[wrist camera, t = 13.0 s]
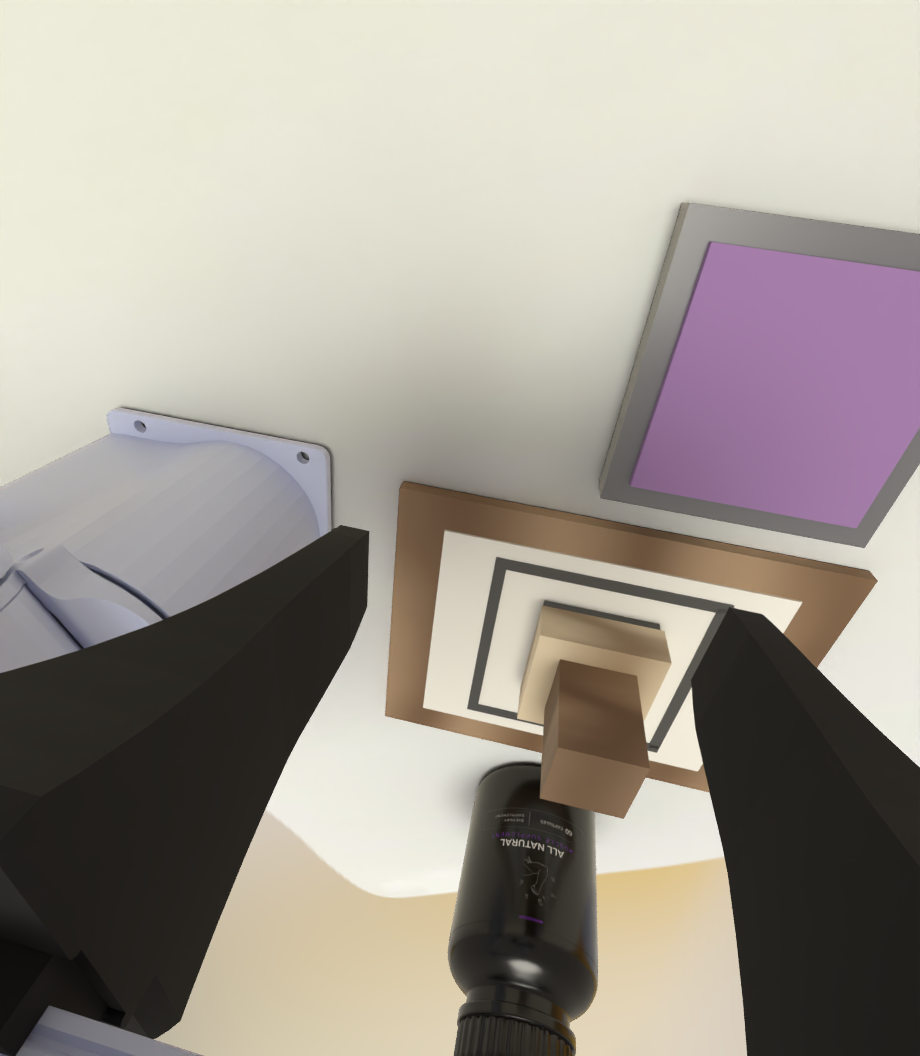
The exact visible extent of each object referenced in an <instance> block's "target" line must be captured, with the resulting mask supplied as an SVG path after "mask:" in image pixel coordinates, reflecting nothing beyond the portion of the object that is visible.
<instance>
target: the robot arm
mask: <svg viewBox="0 0 920 1056" xmlns="http://www.w3.org/2000/svg"><path fill="white" fill-rule="evenodd" d="M107 421H108V425H109V428H110V432H111V434H109V435H107V436H105V437H103V438H101V439H99V440H97V441H94V442H92V443H90V444H88V445H86V446H84V447H82V448H80V449H78V450H76V451H74V452H72V453H70V454H68V455H66V456H64V457H62V458H59V459H57V460H55V461H53V462H51V463H49V464H47V465H45V466H43V467H41V468H39V469H37V470H35V471H33V472H31V473H29V474H27V475H24V476H22V477H20V478H18V479H16V480H14V481H12V482H10V483H8V484H6V485H4V486H2V487H0V1056H202V1055H199V1054H196V1053H193V1052H190V1051H187V1050H184V1049H181V1048H178V1047H175V1046H172V1045H169V1044H166V1043H162V1042H159V1041H156V1040H153V1039H155V1038H157V1037H159V1036H160V1035H162V1034H164V1033H165V1032H167V1031H168V1030H170V1029H171V1028H172V1027H173V1026H175V1025H176V1024H177V1023H178V1022H180V1020H181V1018H182V1015H183V1013H184V1010H185V1007H186V1004H187V1002H188V999H189V996H190V994H191V991H192V988H193V985H194V983H195V981H196V978H197V975H198V973H199V970H200V968H201V965H202V962H203V960H204V957H205V955H206V952H207V949H208V947H209V944H210V942H211V939H212V936H213V933H214V931H215V929H216V926H217V924H218V921H219V919H220V916H221V914H222V911H223V909H224V906H225V904H226V901H227V899H228V896H229V894H230V892H231V889H232V887H233V884H234V882H235V879H236V877H237V874H238V872H239V869H240V867H241V865H242V862H243V859H244V857H245V855H246V853H247V850H248V848H249V845H250V843H251V841H252V839H253V836H254V834H255V832H256V829H257V827H258V825H259V822H260V820H261V818H262V815H263V813H264V811H265V808H266V806H267V804H268V802H269V800H270V797H271V795H272V793H273V791H274V788H275V786H276V784H277V782H278V779H279V777H280V775H281V773H282V771H283V768H284V766H285V764H286V762H287V760H288V758H289V756H290V754H291V752H292V750H293V748H294V746H295V744H296V742H297V740H298V738H299V737H300V735H301V733H302V731H303V730H304V728H305V726H306V724H307V723H308V721H309V719H310V717H311V716H312V714H313V712H314V711H315V709H316V707H317V705H318V704H319V702H320V700H321V698H322V697H323V695H324V693H325V691H326V690H327V688H328V686H329V684H330V683H331V681H332V679H333V677H334V676H335V674H336V672H337V670H338V669H339V667H340V665H341V663H342V661H343V660H344V658H345V656H346V654H347V653H348V651H349V649H350V647H351V645H352V642H353V640H354V638H355V635H356V633H357V630H358V628H359V626H360V623H361V621H362V618H363V615H364V613H365V610H366V608H367V591H368V553H369V531H366V530H361V529H357V528H352V527H347V526H342V525H340V526H339V527H337V528H335V529H333V530H332V529H331V471H330V455H329V453H328V452H327V450H326V449H325V448H323V447H321V446H319V445H314V444H309V443H304V442H298V441H293V440H288V439H283V438H277V437H272V436H267V435H262V434H256V433H251V432H246V431H240V430H235V429H230V428H225V427H219V426H214V425H209V424H204V423H198V422H193V421H188V420H182V419H177V418H172V417H167V416H161V415H156V414H151V413H146V412H140V411H135V410H130V409H124V408H115V409H113V410H111V411H109V412H108V414H107ZM141 422H143V423H144V424H145V426H146V428H144V427H143V426H142V424H141ZM301 452H304V453H306V454H307V455H308V457H309V460H306V459H304V458H303V457H302V455H301ZM691 686H692V700H693V712H694V721H695V730H696V734H697V739H698V744H699V748H700V752H701V757H702V761H703V766H704V770H705V774H706V778H707V783H708V787H709V791H710V795H711V800H712V804H713V808H714V812H715V817H716V821H717V825H718V829H719V834H720V838H721V842H722V846H723V851H724V857H725V862H726V867H727V872H728V878H729V885H730V893H731V901H732V909H733V916H734V924H735V932H736V940H737V948H738V958H739V968H740V978H741V987H742V996H743V1006H744V1019H745V1032H746V1045H747V1056H920V767H919V766H917V765H916V764H915V763H914V762H913V761H912V760H911V759H910V758H909V757H908V756H906V755H905V754H904V753H903V752H902V751H901V750H900V749H899V748H898V747H897V746H896V745H895V744H894V743H892V742H891V741H890V740H889V739H888V738H887V737H886V736H885V735H884V734H883V733H882V732H881V731H879V730H878V729H877V728H876V727H875V726H874V725H873V724H872V723H871V722H870V721H869V720H868V719H867V718H866V717H865V716H864V715H863V714H862V713H861V712H860V711H859V710H858V709H857V708H856V707H855V706H854V705H853V704H852V703H851V702H850V701H849V700H848V699H847V698H846V697H845V696H844V695H843V694H842V693H841V692H840V691H839V690H838V689H837V688H836V687H835V686H834V685H833V684H832V683H831V682H830V681H829V680H828V679H827V678H826V677H825V676H824V675H823V674H822V673H821V672H820V671H819V670H818V669H817V668H816V667H815V666H814V665H813V664H812V663H811V662H810V661H809V660H808V659H807V657H806V656H805V655H804V654H803V653H802V652H801V651H800V650H799V649H798V648H797V647H796V646H795V645H794V644H793V643H792V642H791V641H790V640H789V639H788V638H787V637H786V636H785V635H784V634H783V633H782V632H781V631H780V630H779V629H778V628H777V627H776V626H775V625H774V624H773V623H772V622H771V621H770V620H768V619H767V618H766V617H765V616H764V615H763V614H760V613H755V612H750V611H745V610H741V609H736V608H731V607H729V609H728V611H727V613H726V615H725V616H724V618H723V620H722V622H721V624H720V626H719V628H718V630H717V632H716V633H715V635H714V637H713V639H712V641H711V643H710V645H709V647H708V649H707V651H706V652H705V654H704V656H703V658H702V660H701V662H700V664H699V666H698V668H697V669H696V671H695V673H694V675H693V677H692V679H691Z"/></svg>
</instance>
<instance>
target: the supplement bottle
mask: <svg viewBox="0 0 920 1056" xmlns="http://www.w3.org/2000/svg"><path fill="white" fill-rule="evenodd" d="M540 784H541V766H535V765H512V766H506V767H503V768H500V769H498V770H495V771H493V772H492V773H490V774H489V775H488V776H486V777H485V778H484V779H483V781H482V782H481V783H480V785H479V787H478V790H477V793H476V797H475V802H474V807H473V812H472V818H471V823H470V829H469V834H468V840H467V845H466V851H465V856H464V862H463V867H462V873H461V878H460V883H459V889H458V894H457V901H456V905H455V911H454V916H453V922H452V928H451V933H450V940H449V946H448V960H449V966H450V970H451V973H452V976H453V978H454V979H455V982H456V983H457V985H458V986H459V988H460V989H461V991H462V992H463V993H464V994H465V995H466V996H467V1001H466V1003H465V1004H463V1005H462V1006H461V1007H460V1009H459V1014H458V1021H457V1025H458V1031H457V1038H456V1045H455V1051H454V1056H575V1054H576V1040H575V1039H576V1038H575V1035H574V1033H573V1032H572V1031H571V1030H570V1028H569V1025H570V1024H569V1023H570V1022H571V1021H573V1020H575V1019H577V1018H578V1017H580V1016H581V1015H583V1014H584V1013H585V1012H586V1011H587V1009H588V1008H589V1007H590V1005H591V1003H592V1002H593V999H594V997H595V995H596V991H597V985H598V984H597V983H598V951H597V950H598V949H597V900H596V850H595V817H594V811H590V810H586V809H582V808H578V807H573V806H569V805H565V804H561V803H557V802H553V801H549V800H545V799H540Z"/></svg>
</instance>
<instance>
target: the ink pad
mask: <svg viewBox="0 0 920 1056" xmlns="http://www.w3.org/2000/svg"><path fill="white" fill-rule="evenodd" d="M919 464H920V234H915V233H907V232H900V231H893V230H885V229H878V228H871V227H864V226H856V225H849V224H842V223H834V222H827V221H820V220H812V219H805V218H798V217H790V216H783V215H776V214H769V213H761V212H754V211H747V210H739V209H732V208H725V207H717V206H710V205H703V204H695V203H682V204H681V207H680V211H679V214H678V217H677V221H676V224H675V228H674V231H673V234H672V238H671V241H670V245H669V248H668V251H667V255H666V258H665V261H664V265H663V268H662V272H661V275H660V278H659V282H658V285H657V289H656V292H655V295H654V299H653V302H652V305H651V309H650V312H649V316H648V319H647V322H646V326H645V329H644V333H643V336H642V339H641V343H640V346H639V349H638V353H637V356H636V360H635V363H634V366H633V370H632V373H631V377H630V380H629V383H628V387H627V390H626V393H625V397H624V400H623V404H622V407H621V410H620V414H619V417H618V421H617V424H616V427H615V431H614V434H613V437H612V441H611V444H610V448H609V451H608V454H607V458H606V461H605V465H604V468H603V471H602V475H601V478H600V481H599V489H600V498H603V499H608V500H613V501H619V502H624V503H629V504H634V505H640V506H645V507H650V508H655V509H661V510H666V511H671V512H677V513H682V514H687V515H692V516H698V517H703V518H708V519H713V520H719V521H724V522H729V523H735V524H740V525H745V526H750V527H756V528H761V529H766V530H772V531H777V532H782V533H787V534H793V535H798V536H803V537H808V538H814V539H819V540H824V541H830V542H835V543H840V544H845V545H851V546H856V547H861V548H865V546H866V545H867V543H868V542H869V540H870V539H871V537H872V536H873V534H874V533H875V531H876V530H877V528H878V527H879V525H880V523H881V522H882V520H883V519H884V517H885V516H886V514H887V513H888V511H889V510H890V508H891V507H892V505H893V504H894V502H895V501H896V499H897V498H898V496H899V494H900V493H901V491H902V490H903V488H904V487H905V485H906V484H907V482H908V481H909V479H910V478H911V476H912V475H913V473H914V472H915V470H916V468H917V467H918V465H919Z"/></svg>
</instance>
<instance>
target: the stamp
mask: <svg viewBox="0 0 920 1056" xmlns="http://www.w3.org/2000/svg"><path fill="white" fill-rule="evenodd" d="M671 664H672V662H671V658H670V653H669V649H668V644H667V640H666V635H665V631H662V630H661V629H660V624H657V623H652V622H647V621H642V620H638V619H633V618H628V617H623V616H618V615H614V614H609V613H604V612H599V611H594V610H590V609H585V608H580V607H575V606H570V605H566V604H561V603H556V602H551V601H546V600H544V604H543V605H542V608H541V611H540V615H539V619H538V623H537V626H536V630H535V634H534V638H533V641H532V645H531V649H530V653H529V657H528V660H527V664H526V668H525V672H524V675H523V679H522V683H521V687H520V696H519V705H518V715H517V719H521V720H526V721H530V722H534V723H539V724H543V725H544V728H543V747H542V765H541V784H540V799H545V800H549V801H553V802H557V803H561V804H565V805H569V806H573V807H578V808H582V809H586V810H590V811H594V812H598V813H602V814H606V815H610V816H615V817H619V818H623V819H624V817H625V815H626V813H627V811H628V810H629V808H630V806H631V804H632V802H633V800H634V798H635V796H636V795H637V793H638V791H639V789H640V787H641V785H642V783H643V781H644V779H645V778H646V776H647V774H648V772H649V770H650V764H649V757H648V750H647V743H646V736H645V729H644V720H645V718H646V716H647V714H648V712H649V710H650V708H651V706H652V704H653V701H654V699H655V697H656V695H657V693H658V691H659V689H660V687H661V685H662V683H663V681H664V679H665V676H666V674H667V672H668V670H669V668H670V666H671Z"/></svg>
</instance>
